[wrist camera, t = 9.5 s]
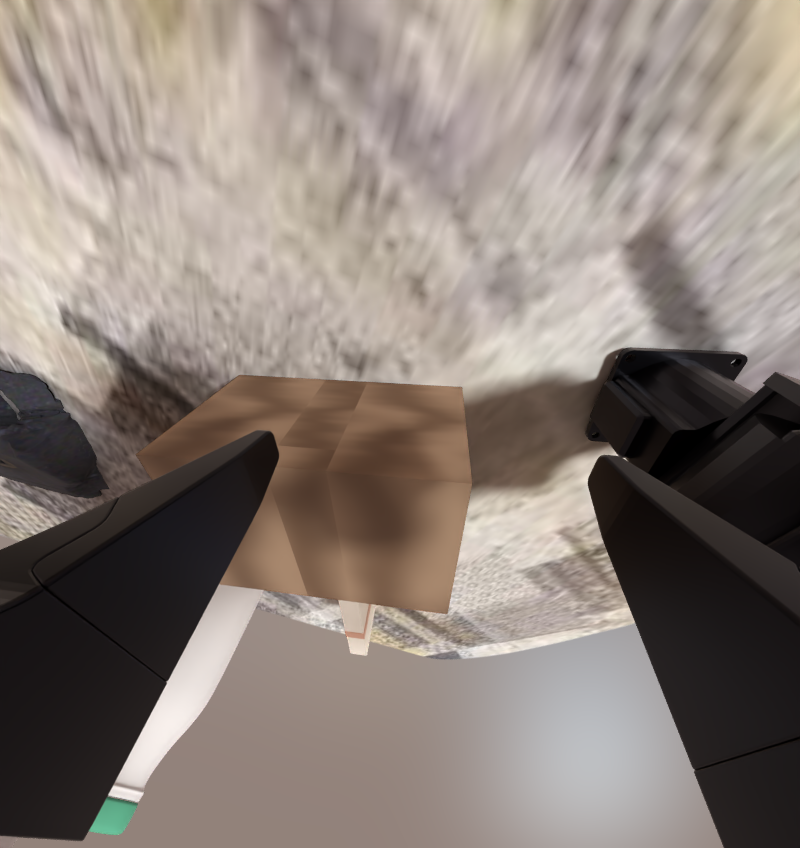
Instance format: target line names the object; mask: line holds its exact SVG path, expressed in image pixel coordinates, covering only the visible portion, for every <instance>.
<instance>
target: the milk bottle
mask: <svg viewBox="0 0 800 848" xmlns="http://www.w3.org/2000/svg"><path fill="white" fill-rule="evenodd" d="M263 591H264V590H258V589H251V588H243V587H235V586H228V585H220V584H219V585H218V587H217V589H216V591H215V593H214V595H213V597H212V599H211V601H210V603H209V604H208V606H207V608H206V610H205V612H204V614H203V616H202V618H201V620H200V621H199V623H198V625H197V627H196V629H195V631H194V633H193V635H192V637H191V639H190V640H189V642H188V644H187V646H186V648H185V650H184V652H183V654H182V656H181V658H180V659H179V661H178V663H177V665H176V667H175V669H174V671H173V673H172V675H171V677H170V678H169V680H168V681H167V685H166V687H165V688H164V690H163V692H162V694H161V696H160V698H159V700H158V702H157V704H156V706H155V707H154V709H153V711H152V713H151V715H150V717H149V719H148V721H147V723H146V724H145V726H144V728H143V730H142V732H141V734H140V736H139V738H138V740H137V742H136V743H135V745H134V747H133V749H132V751H131V753H130V755H129V757H128V759H127V761H126V762H125V764H124V766H123V768H122V770H121V772H120V774H119V776H118V778H117V779H116V781H115V783H114V785H113V787H112V789H111V791H110V793H109V795H108V796H111V797H116V798H120V799H125V800H130V801H135V802H138V801H139V800H140V798H141V796H142V795H143V794H144V787H145V784H146V782H147V780H148V779H149V777H150V775H151V774H152V772H153V771H154V769H155V768H156V766H157V765H158V764H159V762H160V761H161V759H162V758H163V757H164V756H165V754H166V753H167V752H168V750H169V749H170V748H171V747H172V746H173V745H174V743H175V742H176V741H177V740H178V739H179V738H180V737H181V735H182V734H183V733H184V732H185V731H186V730H187V729H188V728H189V727H190V725H191V724H192V723H193V722H194V721H195V720H196V718H197V717H198V716H199V714H200V713H201V712H202V710H203V709H204V707H205V706H206V704H207V703H208V701H209V699H210V698H211V696H212V694H213V692H214V691H215V689H216V687H217V685H218V683H219V681H220V679H221V677H222V675H223V673H224V671H225V669H226V667H227V665H228V663H229V661H230V659H231V657H232V655H233V653H234V651H235V649H236V647H237V645H238V643H239V641H240V639H241V637H242V635H243V633H244V631H245V629H246V626H247V625H248V622H249V620H250V618H251V616H252V614H253V612H254V610H255V608H256V606H257V604H258V602H259V600H260V598H261V596H262V593H263ZM120 799H114V798H110V797H107V798H106V800H105V802H104V804H103V806H102V808H101V810H100V812H99V814H98V816H97V817H96V819H95V821H94V823H93V825H92V827H91V828H90V830H89V831H91V832H96V833H103V834H110V835H118V834H121V833H122V832H123V831H124V830H125V828H126V827H127V825H128V823H129V821H130V820H131V818H132V816H133V814H134V812H135V810H136V808H137V805H138V804H137V803H132V802H129V801H124V800H120Z"/></svg>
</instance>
